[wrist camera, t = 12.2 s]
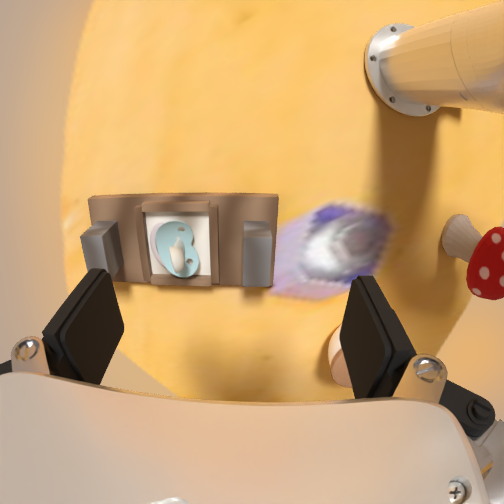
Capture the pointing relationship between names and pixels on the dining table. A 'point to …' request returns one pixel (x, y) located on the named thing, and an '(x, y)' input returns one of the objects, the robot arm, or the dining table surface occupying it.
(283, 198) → the dining table surface
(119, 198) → the brown tray
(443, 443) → the robot arm
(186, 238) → the pacifier
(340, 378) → the lidded jar
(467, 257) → the decorative mushroom
